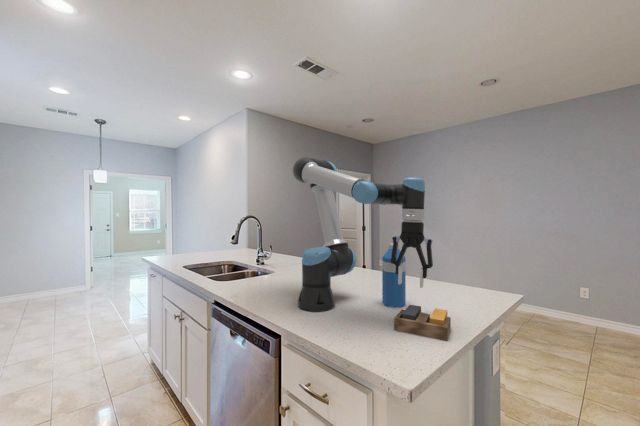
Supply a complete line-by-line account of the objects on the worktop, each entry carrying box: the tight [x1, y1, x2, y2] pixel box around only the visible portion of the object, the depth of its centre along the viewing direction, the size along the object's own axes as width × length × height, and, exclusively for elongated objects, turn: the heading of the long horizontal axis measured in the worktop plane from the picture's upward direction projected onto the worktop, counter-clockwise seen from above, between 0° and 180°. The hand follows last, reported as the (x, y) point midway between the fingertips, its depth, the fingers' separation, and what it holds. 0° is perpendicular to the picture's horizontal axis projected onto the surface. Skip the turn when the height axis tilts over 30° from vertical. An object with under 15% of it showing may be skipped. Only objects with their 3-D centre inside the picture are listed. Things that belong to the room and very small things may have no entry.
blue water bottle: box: [381, 243, 407, 308], centre depth 120 cm, size 9×9×25 cm
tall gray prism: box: [402, 304, 422, 321], centre depth 98 cm, size 4×11×5 cm, turn 150°
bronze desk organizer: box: [393, 309, 452, 342], centre depth 93 cm, size 16×10×4 cm, turn 60°
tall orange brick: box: [430, 307, 448, 325], centre depth 94 cm, size 4×11×5 cm, turn 150°
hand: (410, 285), depth 103 cm, fingers open, 7 cm apart
